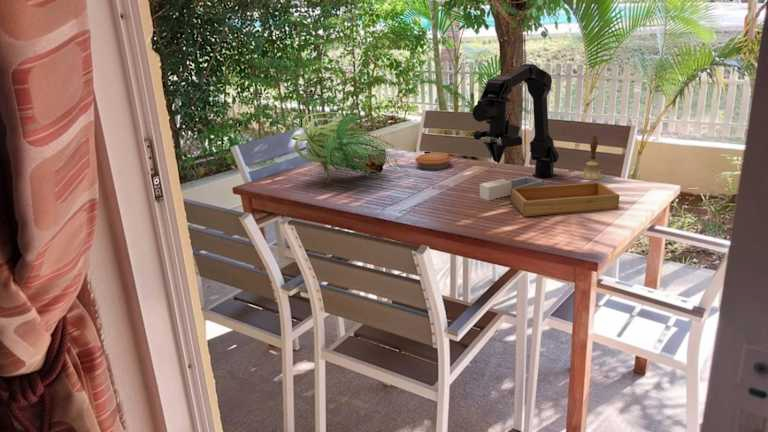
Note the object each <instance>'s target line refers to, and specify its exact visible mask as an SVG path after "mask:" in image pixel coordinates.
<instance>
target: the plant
mask: <svg viewBox="0 0 768 432" xmlns="http://www.w3.org/2000/svg"><path fill="white" fill-rule="evenodd" d="M352 110H353V109H351V110H350V109H349V111H352ZM345 112H347V111H344V113H345ZM339 113H340V114H339ZM341 113H342V111H340V112H339V111H337V112H336V111H335V112H334V111H333V112H332V111H330V112H329V111H323V112H321V111H320V112H313V113H309V114H307V115H305V116H304V117H303V119H302V122H301V123H302V124H301V125H302V126H301V127H302V129H303V132H304V134H300V133H299V134H294V135H292V137H291V140H292V141H295V144H294V147H295V148H294V149H295V151H296V153H297V154H298V155H299V156H300V157H301V158H302V159H303V160H305V161H307V163H309V165H310V166H313V163H316V164H315V166H319V167H322V168H323V169H320V171H321V172H319V173H317V175H323V174H326V175H325V176H324V177H325V178H328V179H327V181H326V183H328V182H329V181H331V180H332V174H333V173H334V171H332V169H331V168H333V169H334V170H335V173H341V174H343V172H344V174H345V176H344V177H345V178H347V176H348V175H350V174H351V173H352V176H353V175H354V174H356V173H357V174H358V177H360V174H362V175H366V177H368V178H370V176H369V175H370V174H371V176H373V177H374V178H375V179H377V180H378V181H379V180H380V182H383V180H385V181H386V182H388V180H387V179H386V178H388V179H390V177H389V176H387V174H386V173H382V171H383V170H384V166H385V167H386V168H392V169H393V170H398V168H399V169H400V170H403V171H406V172H408V170H407V169H405V168H403V167H401V166H402V165H403V160H401V159H400V158H401V157H403V155H404V153H405V152H400V153H398V152H396V155H399V156H398V158H397V156H392V155H393V151H389V150H388V149H389V148H390V147H393V148H394V145H393V144H394V142H390V141H389V142H388V141H387V140H388V139H386V138H385V137H382V138H381V134H379V136H378V134H376V135H375V136H374V135H371V132H368V130H367V126H365V125H363V123H362V122H360V121H361V120H362V118H361V117H359V116H357V115H355V114H353V115H349V116H348V115H347V116H345V117H343V118H342V114H341ZM323 114H338V115H337V116H336V117H335V118H327V117H317V118H313V119H311V120H310V121H309V123H308V126H307V125H306V121H307V118H309V117H310V116H314V115H316V116H317V115H323ZM322 120H323V121H324V120H328V121H329V120H330V121H336V122H335V123H334V122H333V123H327V124H323V125H318V126H313V123H315V122H316V121H322ZM359 120H360V121H359ZM339 121H340V122H339ZM355 124H357V125H358V126H360V128H359V127H355V126H354V125H355ZM306 126H307V127H306ZM361 127H362V128H361ZM372 134H375V133H374V132H372ZM299 141H301V142H306V143H305V144H306V146H305V147H306V148H305V151H306V153H307V155H308V156H309V157H307V156H305V155H304V153H302V152H301V150H300V149H299V146H298V145H299ZM384 143H385V144H386V145H385V144H384ZM388 145H389V146H388ZM395 147H399V145H398V144H397V145H395ZM390 152H391V153H390ZM400 154H401V155H400ZM387 157H389V158H387ZM411 157H413V156H412V155H411V156H410V158H409V159H407V160H405V163H406V162H409V161H410V162H409V163H408V164H406V166H409V165H410V164H411V163H412V162H413V161H412V160H415V158H414V157H413V158H411ZM392 159H393V160H392ZM298 162H301V163H302V161H299V160H298ZM401 162H402V163H401ZM390 163H391V164H392V165H391V164H390ZM398 163H400V165H399V164H398ZM318 164H319V165H318ZM329 165H330V166H329ZM396 167H398V168H396ZM359 173H360V174H359ZM312 175H313V176H314V175H316V173H314V174H311V176H312ZM303 176H306V174H305V175H303ZM333 180H334V178H333ZM334 184H335V183H333V185H332V187H334Z"/></svg>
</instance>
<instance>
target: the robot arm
mask: <svg viewBox="0 0 768 432" xmlns="http://www.w3.org/2000/svg"><path fill="white" fill-rule="evenodd" d="M522 82H524V83H525V84H526V88H527V92H528V93H529V94H530V96H531V98H532V104H533V105H532V107H533V109H532V110H533V125H534V127H533V128H534V137H533V138H532V140H531V141H530V142H529V147H530V149H529V152H530V154H531V155H530V156H531V160H532V161H535V166H534V168H535V173H533V174H532V176H534V177H537V178H541V179H550V178H552V177H556V176H557V174H556V173H554V168H555V167H554V165H555V163H556V162H557V161H558V160H559V157H560V155H559V153H558V151H557V149H556V148H555V143H554V140H553V139H552V137H551V136H550V133H549V117H548V96H549V94H550V91H551V90H552V82H553V79H552V76H551V74H550V73H548V72H547V71H545V70H543V69H541V68H539V67H538V66H537V65H536V64H533V63H524V64H521V65H520V66H519V67H518V68H516V69H514V70H512V71H510V72H509V73H507V74H505V75H504V76H498V77H492V78H490V79H488V80H487V82H486V84H485V87H484V89H483V91H482V94H481V96H480V98H479V99H478V100H477V104H475V105H474V107H473V108H472V110H471V111H472V117H473V119H474V121H476V122H478V123H479V122H480V123H481V122H485V121H486V124H488V129H487V128H484V129H479V130H475V132H474V133H473V139H475V140H478V141H479V140H481V139H482V138H484V139H485V141H483V144H485V146H486V148H487V149H488V152H489V154H490V156H491V158H492V160H493V162H494V163H497V164H500V162H501V160H502V157H503V155H504V152H505V150H506V148H507V147H508V148H510V147H512V148H513V147H517V146H522V145H523V138H522V137H521V136H519V134H520V129H521V127H520V126H517V125H513V124H510V119H507V103H510V102H511V99H510V98H509V97H508V96H509V95H510V94H511V93H512V92H513V88H514V87H516V86H518V85H519V84H521V83H522Z"/></svg>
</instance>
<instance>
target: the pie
mask: <svg viewBox="0 0 768 432" xmlns="http://www.w3.org/2000/svg"><path fill="white" fill-rule="evenodd" d="M452 159H453V157H452V156H450V155H449V154H447V153H444V152H428V153H421V154H420V155H418V156H417V157H415V158H414V161H415V163H416V164H418V166H419V167H420V168H421V169H423V170H425V171H426V170H427V171H438V170H445V169H446V168H447V167H448V166H449V164H450V162H451V161H452Z"/></svg>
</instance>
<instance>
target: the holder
mask: <svg viewBox="0 0 768 432" xmlns="http://www.w3.org/2000/svg"><path fill="white" fill-rule="evenodd" d="M508 181H510V182H512V188H523V187H537V186H544V180H541V179H537V178H534V177H531V176H527V175H526V176H522V177H517V178H513V179H510V180H508Z"/></svg>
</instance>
